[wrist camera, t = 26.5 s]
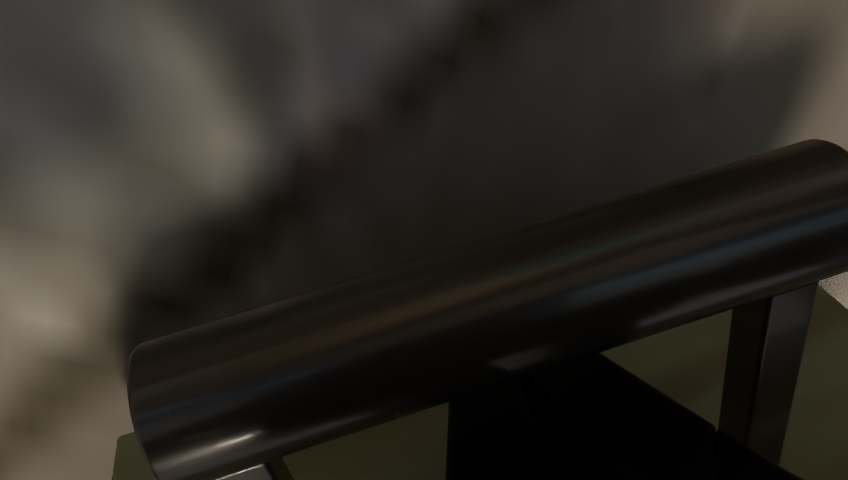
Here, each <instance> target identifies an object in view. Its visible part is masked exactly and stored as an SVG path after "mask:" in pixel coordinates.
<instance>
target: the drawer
mask: <svg viewBox="0 0 848 480" xmlns="http://www.w3.org/2000/svg"><path fill="white" fill-rule="evenodd" d="M847 271H848V151H846V150H845V149H843V148H842V147H840V146H838V145H836V144H834V143H832V142H829V141H824V140H818V139H810V140H805V141H802V142H799V143H795V144H792V145H789V146H785V147H782V148H779V149H776V150H772V151H769V152H766V153H762V154H759V155H756V156H753V157H749V158H746V159H743V160H740V161H736V162H733V163H730V164H726V165H723V166H720V167H717V168H713V169H710V170H707V171H703V172H700V173H697V174H694V175H690V176H687V177H684V178H680V179H677V180H674V181H671V182H667V183H664V184H661V185H657V186H654V187H651V188H648V189H644V190H641V191H638V192H635V193H631V194H628V195H625V196H621V197H618V198H615V199H612V200H608V201H605V202H602V203H598V204H595V205H592V206H589V207H585V208H582V209H579V210H575V211H572V212H569V213H566V214H562V215H559V216H556V217H553V218H549V219H546V220H543V221H539V222H536V223H533V224H530V225H526V226H523V227H520V228H516V229H513V230H510V231H507V232H503V233H500V234H497V235H493V236H490V237H487V238H484V239H480V240H477V241H474V242H470V243H467V244H464V245H461V246H457V247H454V248H451V249H448V250H444V251H441V252H438V253H434V254H431V255H428V256H425V257H421V258H418V259H415V260H411V261H408V262H405V263H402V264H398V265H395V266H392V267H388V268H385V269H382V270H379V271H375V272H372V273H369V274H365V275H362V276H359V277H356V278H352V279H349V280H346V281H343V282H339V283H336V284H333V285H329V286H326V287H323V288H320V289H316V290H313V291H310V292H306V293H303V294H300V295H297V296H293V297H290V298H287V299H283V300H280V301H277V302H274V303H270V304H267V305H264V306H260V307H257V308H254V309H251V310H247V311H244V312H241V313H238V314H234V315H231V316H228V317H224V318H221V319H218V320H215V321H211V322H208V323H205V324H201V325H198V326H195V327H192V328H188V329H185V330H182V331H178V332H175V333H172V334H169V335H165V336H162V337H159V338H155V339H152V340H149V341H146V342H142V343H140V344H139V345H137V346H136V347H135V348H134V349H133V351H132V353H131V355H130V358H129V362H128V369H127V391H128V401H129V408H130V414H131V418H132V423H133V427H134V430H135V432H132V433H129V434H126V435H123V436H121V437H119V438H118V440H117V447H116V455H115V462H114V469H113V476H112V480H445V475H446V453H447V432H448V410H449V402H451V401H454V400H457V399H460V398H463V397H466V396H469V395H472V394H475V393H478V392H481V391H484V390H488V389H491V388H494V387H497V386H500V385H503V384H506V383H509V382H512V381H515V380H518V379H521V378H524V377H527V376H530V375H533V374H536V373H539V372H542V371H545V370H548V369H551V368H555V367H558V366H561V365H564V364H567V363H570V362H573V361H576V360H579V359H582V358H585V357H588V356H591V355H594V354H597V353H601V354H603V355H604V356H606V357H607V358H609V359H610V360H612V361H614V362H615V363H617V364H618V365H620V366H621V367H623V368H625V369H626V370H628V371H629V372H631V373H633V374H634V375H636V376H637V377H639V378H640V379H642V380H644V381H645V382H647V383H648V384H650V385H651V386H653V387H655V388H656V389H658V390H659V391H661V392H662V393H664V394H666V395H667V396H669V397H670V398H672V399H673V400H675V401H677V402H678V403H680V404H681V405H683V406H685V407H686V408H688V409H689V410H691V411H692V412H694V413H696V414H697V415H699V416H700V417H702V418H703V419H705V420H707V421H708V422H710V423H711V424H713V425H714V426H715V428H716V431H717V430H719V429H721V430H723V431H724V432H726V433H727V434H729V435H731V436H732V437H734V438H735V439H737V440H739V441H740V442H742V443H743V444H745V445H746V446H748V447H750V448H751V449H753V450H755V451H756V452H758V453H760V454H761V455H763V456H765V457H766V458H768V459H770V460H771V461H773V462H775V463H776V464H778V465H780V466H781V467H783V468H785V469H786V470H788V471H790V472H792V473H793V474H795V475H797V476H799V477H801V478H803V479H805V480H848V309H846V308H845V307H844V306H843V305H842V304H841V303H839V302H838V301H837V300H836V299H835V298H833V297H832V296H831V295H830V294H829V293H827V292H826V291H825V290H824V289H823V288H822V287H820V286H819V285H818V283H819V280H823V279H826V278H829V277H832V276H835V275H838V274H841V273H844V272H847Z"/></svg>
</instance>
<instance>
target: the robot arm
mask: <svg viewBox="0 0 848 480" xmlns="http://www.w3.org/2000/svg"><path fill="white" fill-rule="evenodd" d="M445 480H805V479H803V478H801V477H799V476H797V475H795V474H793V473H792V472H790V471H788V470H786V469H785V468H783V467H781V466H780V465H778V464H776V463H775V462H773V461H771V460H770V459H768V458H766V457H765V456H763V455H761V454H760V453H758V452H756V451H755V450H753V449H751V448H750V447H748V446H746V445H745V444H743V443H742V442H740V441H739V440H737V439H735V438H734V437H732V436H731V435H729V434H727V433H726V432H724V431H723V430H721V429H719V430H717V431H716V428H715V426H714V425H713V424H711V423H710V422H708V421H707V420H705V419H703V418H702V417H700V416H699V415H697V414H696V413H694V412H692V411H691V410H689V409H688V408H686V407H685V406H683V405H681V404H680V403H678V402H677V401H675V400H673V399H672V398H670V397H669V396H667V395H666V394H664V393H662V392H661V391H659V390H658V389H656V388H655V387H653V386H651V385H650V384H648V383H647V382H645V381H644V380H642V379H640V378H639V377H637V376H636V375H634V374H633V373H631V372H629V371H628V370H626V369H625V368H623V367H621V366H620V365H618V364H617V363H615V362H614V361H612V360H610V359H609V358H607V357H606V356H604V355H603V354H601V353H597V354H594V355H591V356H588V357H585V358H582V359H579V360H576V361H573V362H570V363H567V364H564V365H561V366H558V367H555V368H551V369H548V370H545V371H542V372H539V373H536V374H533V375H530V376H527V377H524V378H521V379H518V380H515V381H512V382H509V383H506V384H503V385H500V386H497V387H494V388H491V389H488V390H484V391H481V392H478V393H475V394H472V395H469V396H466V397H463V398H460V399H457V400H454V401H451V402H449V410H448V432H447V453H446V475H445Z"/></svg>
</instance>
